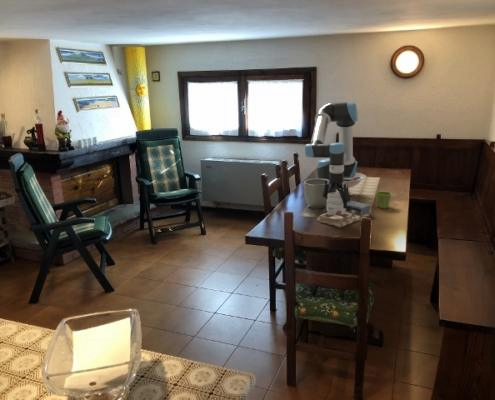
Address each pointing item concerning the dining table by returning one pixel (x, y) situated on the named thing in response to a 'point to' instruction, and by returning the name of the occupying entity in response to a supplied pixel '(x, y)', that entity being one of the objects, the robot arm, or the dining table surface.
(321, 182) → the planter
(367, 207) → the block
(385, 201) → the plant pot
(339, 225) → the cradle
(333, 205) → the ink box
